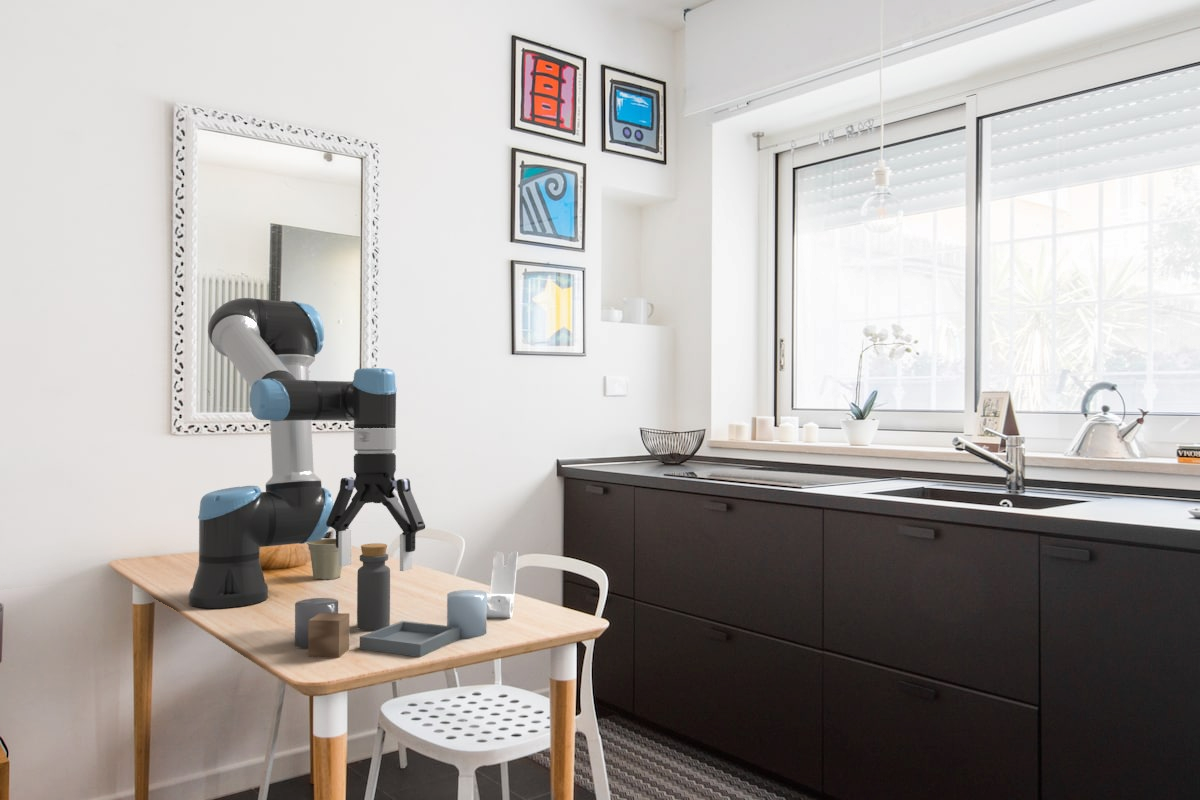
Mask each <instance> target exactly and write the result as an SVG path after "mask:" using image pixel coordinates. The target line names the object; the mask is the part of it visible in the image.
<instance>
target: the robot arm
mask: <svg viewBox="0 0 1200 800" xmlns="http://www.w3.org/2000/svg"><path fill="white" fill-rule="evenodd" d="M207 334H208V338H209V340H210V343H211V345H212V346H213V347H214V349H215V350H216V351H217V353H219V354H220V355H222V356H224V357H227V358H228V359H229V361H230V362H231V363H232V365H233V366H234V367H235V369H236V370H237V371H238V373H239V374H240V375H241V377H242V378H243V380H244V381H245V382H246V383H247V384H248V386H249V387H250V391H249V407H250V410H251V411H250V412H251V414H252V415H253V417H254V418H256V419H257V420H260V421H270V422H269V424H270V445H271V447H270V449H271V450H270V451H271V471H272V472H271V473H272V476H271V477H270V479H268V481H267V482H265V491H262V490H261V488H260V487H259V486H258V485H244V486H235V487H234V486H232V487H228V488H222V489H218V490H214V491H210V492H208V493H206V494H204V495H203V496H202V497H201V498H200V502H199V510H198V512H199V514H198V517H197V519H198V520H199V522H198V531H199V532H198V568H197V569H196V572H195V573H196V574H195V577H194V580H193V584H192V588H191V589H190V591H189V595H188V604H189V605H190V606H193V607H197V608H203V609H204V608H205V609H222V608H223V609H224V608H235V607H243V606H250V605H254V604H258V603H261V602H263V601H266V600H267V599H268V598H269V585H268V584H267V583H266V581H265V576H264V572H263V568H262V566H261V560H260V549H261V548H263V547H275V546H285V545H295V544H298V545H299V544H300V545H302V544H307V542H312V541H318V540H320V539H324V537H325V536H326V534H327V533H328V531H329V529H330V528H332V529H334V531H335V539H336V548H338V567H347V566H351V565H352V530H351V529H350V525H351V523H352V522H353V520H354V519H355V518H356V516H357V515H358V514H359V512H360V511H361V509H362V508H363V506H364V505H365V504H370V503H371V504H372V503H373V504H382V505H383V506H384V507H386V509H387V510H388V512H389V513H390V514H391V516H392V518H393V519H394V520H395V522H396V523H397V524H398V527H399V528H400V529H401V530H402V533H401V534H399V572H405V571H409V570H412V569H413V552H415V551H416V535H417V534H416V533H418V532H419V531H422V530H425V528H426V524H425V522H424V519H423V517H422V515H421V512H420V509H419V507H418V503H416V500H415V497H414V494H413V493H412V490H411V489H412V488H411V481H410V479H409V478H400V479H395V473H396V471H397V456H396V454H395V452H394V453H393V451H395V450H396V449H397V434H396V433H397V429H396V423H397V421H396V420H397V413H396V412H397V410H396V409H397V386H396V385H397V384H396V374H395V371H394V370H393V369H389V368H377V367H374V368H373V367H371V368H369V367H368V368H367V367H366V368H363V367H362V368H357V369H356V370H355V372H354V373H353V380H352V381H350V380H349V381H345V380H343V381H341V380H340V381H339V380H337V381H336V380H311V379H310V373H309V367H310V366H311V365H312V364H314V362H315V360H316V355H318V354H320V352H321V351H322V349H323V347H324V340H325V331H324V324H323V321H322V318H321V315H320V313H319V311H317V310H316V308H315V307H314V306H313V305H311V304H309V303H303V302H298V301H294V300H292V301H289V300H288V301H287V300H274V299H273V300H272V299H261V298H253V297H251V298H249V297H242V298H236V299H233V300H229V301H227V302H225V303H223V304H222V305H220V306H219V307H218V308H217V309H215V311H214V312H213V313H212V315H211V317H210V319H209V322H208V325H207ZM312 421H339V422H352V421H353V450H354V451H355V452H356V451H357V453H355V454H354V455H353V473H355V478H354V477H352V476H351V477H342V478H341V479H340V483H339V484H340V485H339V491H338V493H337V496H336V498H335V500H333V498H332V493H331V492H330V490H329V489H328V488H325V487H322V479H321V478H320V477H319V476H317V475H316V474H315V471H314V452H313V436H312V435H313V433H312V430H313V429H312ZM354 489H355V490H356V492H355V494H354V495H353V496H352V494H353V492H354ZM394 490H395V491H397V495H398V497H397V495H396V493H395V492H394ZM350 499H351V502H350ZM399 500H400V501H399ZM349 502H350V503H349ZM400 502H401V503H400Z"/></svg>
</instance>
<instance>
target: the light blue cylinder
mask: <svg viewBox="0 0 1200 800" xmlns="http://www.w3.org/2000/svg"><path fill="white" fill-rule="evenodd" d="M487 594H488V593H487V592H486V591H484V590H483V591H482V590H476V589H460V590H455V591H450V592H448V593H447V595H446V626H453V627H460V639H472V638H478V637H482V636H485V635H486V634H487V630H488V629H487V621H488V619H487V618H488V617H487Z"/></svg>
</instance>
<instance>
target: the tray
mask: <svg viewBox="0 0 1200 800" xmlns="http://www.w3.org/2000/svg"><path fill="white" fill-rule="evenodd" d="M460 639H461V638H460V627H453V626H447V625H443V624H433V623H425V622H418V621H417V622H416V621H408V620H407V621H406V620H400V621H398V622H395V623H392V624H390V626H387V627H384V628H382V629H379V630H373V631H371V632H369V633H367V634H363V635H361V636H359V649H360V650H365V651H372V652H373V651H374V652H380V653H382V652H383V653H388V654H389V653H390V654H396V655H404V656H411V657H419V658H421V657H423V656H425V655H427V654H429V653H430V654H431V653H432V652H434V651H437V650H438V649H440V648H442V647H446V646H447V645H450V644H452V643H454V642H456V641H458V640H460Z"/></svg>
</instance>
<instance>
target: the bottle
mask: <svg viewBox="0 0 1200 800" xmlns="http://www.w3.org/2000/svg"><path fill="white" fill-rule="evenodd" d="M387 547H388V545H387V544H386V543H378V542H376V543H364V544H362V545H360V548H361V553H362V554H360V555H359V561H360V562H361V563H362V566H360V567H359V568H358V569H357V579H356V582H357V587H356V588H357V589H356V593H357V594H356V597H357V598H356V606H357V607H356V627H357V629H358V630H362V631H368V632H370V631H371V632H372V631H376V630H379V629H382V628H384V627H387V626H390V625H391V624H390V623H391V620H390V618H391V569H390V566H387V565H386V562H387V561H388V560H389V554H388V553H387Z"/></svg>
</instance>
